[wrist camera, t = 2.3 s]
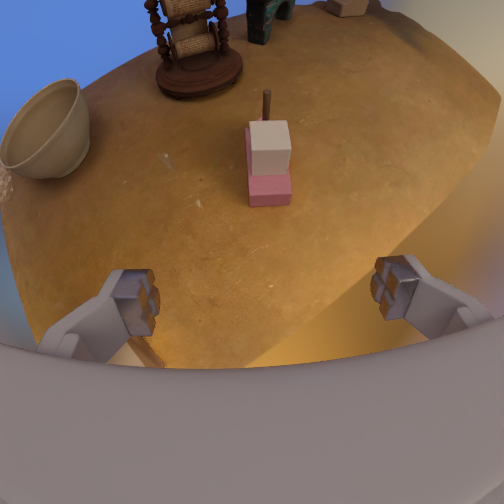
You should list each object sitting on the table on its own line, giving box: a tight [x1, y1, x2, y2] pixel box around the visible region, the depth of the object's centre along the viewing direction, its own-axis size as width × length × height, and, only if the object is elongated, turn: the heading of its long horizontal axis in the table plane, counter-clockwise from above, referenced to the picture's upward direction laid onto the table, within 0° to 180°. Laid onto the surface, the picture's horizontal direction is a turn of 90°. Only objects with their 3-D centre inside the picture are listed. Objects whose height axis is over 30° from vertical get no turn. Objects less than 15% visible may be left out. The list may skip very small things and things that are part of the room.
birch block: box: [107, 336, 165, 368], centre depth 26 cm, size 8×8×5 cm
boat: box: [245, 89, 292, 207], centre depth 29 cm, size 12×5×11 cm, turn 3°
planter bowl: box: [0, 78, 90, 179], centre depth 31 cm, size 16×16×11 cm
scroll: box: [144, 0, 243, 100], centre depth 30 cm, size 15×15×20 cm
